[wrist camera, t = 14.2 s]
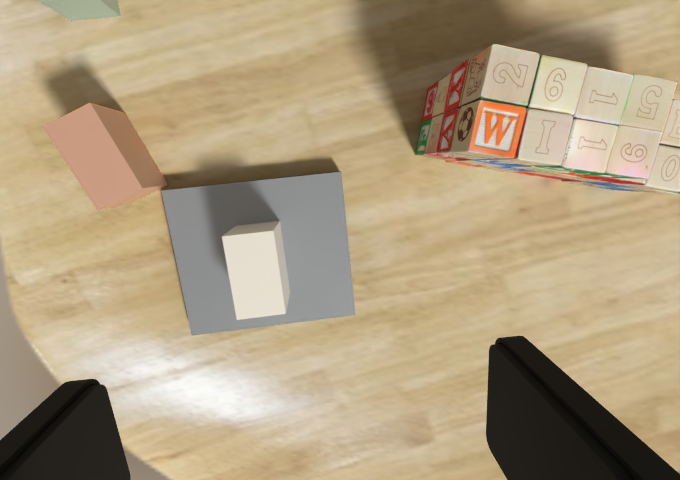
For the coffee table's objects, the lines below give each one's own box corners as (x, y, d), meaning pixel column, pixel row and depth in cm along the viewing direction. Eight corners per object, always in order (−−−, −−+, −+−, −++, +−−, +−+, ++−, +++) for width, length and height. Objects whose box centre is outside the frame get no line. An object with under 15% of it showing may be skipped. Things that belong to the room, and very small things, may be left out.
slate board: (168, 189, 32) (161, 190, 30) (340, 171, 33) (341, 171, 31) (196, 328, 35) (191, 335, 33) (353, 308, 36) (355, 314, 34)
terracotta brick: (85, 133, 31) (42, 126, 26) (125, 112, 30) (89, 102, 26) (130, 204, 32) (97, 210, 27) (168, 184, 32) (142, 188, 27)
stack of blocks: (634, 127, 34) (809, 106, 22) (614, 190, 35) (769, 203, 23) (426, 87, 32) (493, 39, 20) (412, 156, 33) (468, 150, 21)
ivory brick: (236, 225, 32) (221, 236, 27) (279, 220, 32) (273, 230, 27) (248, 297, 33) (236, 320, 28) (290, 292, 33) (285, 313, 28)
